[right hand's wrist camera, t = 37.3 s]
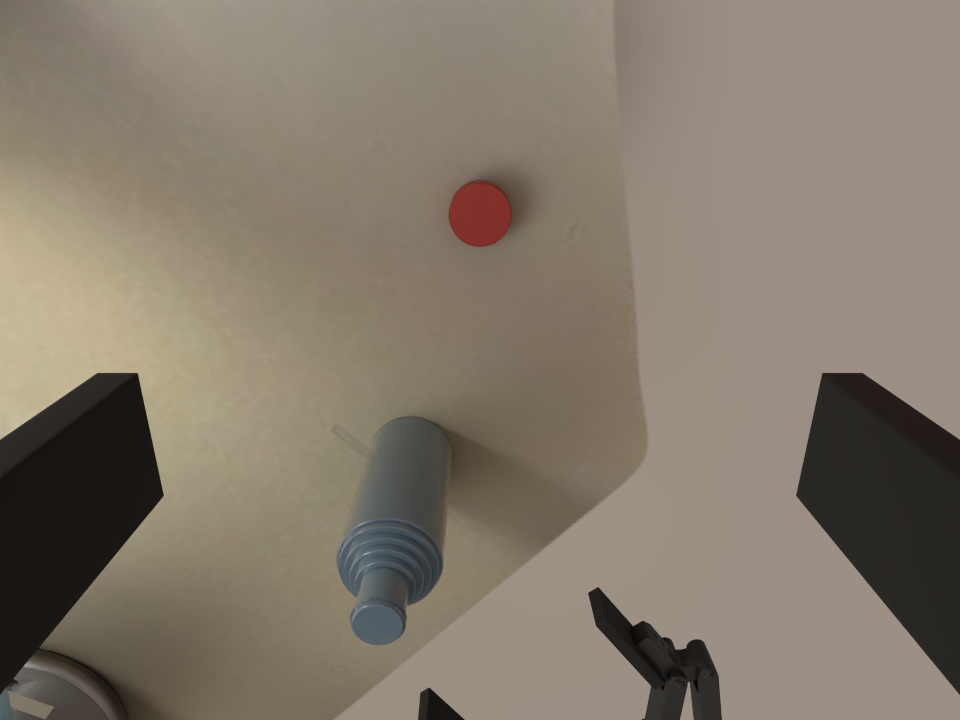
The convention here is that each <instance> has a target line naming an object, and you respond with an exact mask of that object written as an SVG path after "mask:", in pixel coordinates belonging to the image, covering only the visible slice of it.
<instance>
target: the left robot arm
mask: <svg viewBox="0 0 960 720" xmlns="http://www.w3.org/2000/svg"><path fill="white" fill-rule="evenodd" d="M588 594H589V598H590V602H591V607H592V610H593V615H594V619H595V623H596V626H597V627H598V628H599V629H600V631H601V632H602V633H603V634H604V635H605V636H606V637H607V638H608V639H609V640H610V641H611V643H612V644H613V645H614V646H615V647H616V648H617V649H618V650H619V651H620V652H621V653H622V655H623V656H624V657H625V658H626V659H627V660H628V661H629V662H630V663H631V664H632V665H633V667H634V668H635V669H636V670H637V671H638V672H639V673H640V674H641V675H642V676H643V677H644V679H645V680H646V681H647V682H648V683H649V684H650V685H651V690H650V695H649V700H648V706H647V711H646V716H645V719H642V720H680V716H681V712H682V707H683V703H684V698H685V694H686V689H687V685H688V683H687V682H690V688H691V698H692V707H693V717H694V720H722V716H721V703H720V690H719V677H718V673H717V671H716V669H715V666H714V664H713V662H712V659H711V657H710V655H709V652H708V650H707V648H706V646H705V643H704V642H703V641H702V640H692V641H690V642H689V643H688V644H687V648H686V649H682V650H675V647H674V645H673V642H672V640H671V639H669V638H666V637H664V638H662V637H661V636H660V635H659V634H658V633H657V632H656V631H655V630H654V628H653V627H652V626H651V625H650V624H649V623H646V622H644V621H642V622H640V623H638V624H636V625H635V626H632V625H631V624H630V622H629V621H628V620H627V619H626V618H625V617H624V616H623V614H622V613H621V612H620V611H619V610H618V609H617V608H616V607H615V605H614V604H613V603H612V602H611V601H610V600H609V599H608V598H607V596H606V595H605V594H604V593H603V592H602V591H601V590H600V589H599V587H598V588H596V589H594V590H592V591H591V592H589V593H588ZM0 720H127V719H126V714H125V711H124V708H123V706H122V704H121V702H120V700H119V699H118V697H117V696H116V694H115V693H114V691H113V690H112V689H111V688H110V687H109V686H108V685H107V684H106V683H105V682H104V681H103V680H102V679H101V678H100V677H98V676H97V675H96V674H95V673H93V672H92V671H90V670H89V669H87V668H86V667H84V666H82V665H80V664H78V663H76V662H74V661H72V660H70V659H68V658H65V657H62V656H60V655H57V654H53V653H50V652H46V651H41V650H37V651H36V652H35V653H34V654H33V656H32V657H31V658H30V659H29V660H28V662H27V663H26V664H25V665H24V666H23V668H22V669H21V670H20V671H19V673H18V674H17V675H16V676H15V677H14V679H13V680H12V681H11V682H10V684H9V685H8V686H7V687H6V688H5V690H4V691H3V692H2V693H1V694H0ZM418 720H464V719H463V718H462V717H461V716H460V715H459V714H458V713H457V712H455V711H454V710H453V709H452V708H451V707H450V706H449V705H448V704H447V703H446V702H444V701H443V700H442V699H441V698H440V697H439V696H438V695H437V694H436V693H435V692H434V691H432V690H431V689H430V688H428V689H426V690H424V691H423V692H421V694H420V705H419V716H418Z"/></svg>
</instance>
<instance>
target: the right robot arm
mask: <svg viewBox="0 0 960 720" xmlns="http://www.w3.org/2000/svg"><path fill="white" fill-rule="evenodd" d="M163 496H164V495H163V490H162V485H161V481H160V476H159V471H158V466H157V462H156V457H155V452H154V448H153V443H152V438H151V434H150V429H149V424H148V420H147V415H146V410H145V406H144V401H143V396H142V392H141V387H140V382H139V377H138V373H97V374H96V375H94V376H93V377H91V378H90V379H88V380H87V381H85V382H84V383H82V384H81V385H80V386H78V387H77V388H75V389H74V390H72V391H71V392H69V393H68V394H66V395H65V396H63V397H62V398H61V399H59V400H58V401H56V402H55V403H53V404H52V405H50V406H49V407H47V408H46V409H45V410H43V411H42V412H40V413H39V414H37V415H36V416H34V417H33V418H31V419H30V420H28V421H27V422H26V423H24V424H23V425H21V426H20V427H18V428H17V429H15V430H14V431H12V432H11V433H10V434H8V435H7V436H5V437H4V438H2V439H1V440H0V694H1V693H2V692H3V691H4V690H5V688H6V687H7V686H8V685H9V684H10V682H11V681H12V680H13V679H14V677H15V676H16V675H17V674H18V673H19V671H20V670H21V669H22V668H23V666H24V665H25V664H26V663H27V662H28V660H29V659H30V658H31V657H32V656H33V654H34V653H35V652H36V651H37V649H38V648H39V647H40V646H41V645H42V643H43V642H44V641H45V640H46V638H47V637H48V636H49V635H50V634H51V632H52V631H53V630H54V629H55V628H56V626H57V625H58V624H59V623H60V621H61V620H62V619H63V618H64V617H65V615H66V614H67V613H68V612H69V610H70V609H71V608H72V607H73V606H74V604H75V603H76V602H77V601H78V600H79V598H80V597H81V596H82V595H83V593H84V592H85V591H86V590H87V589H88V587H89V586H90V585H91V584H92V583H93V581H94V580H95V579H96V578H97V576H98V575H99V574H100V573H101V572H102V570H103V569H104V568H105V567H106V565H107V564H108V563H109V562H110V561H111V559H112V558H113V557H114V556H115V555H116V553H117V552H118V551H119V550H120V548H121V547H122V546H123V545H124V544H125V542H126V541H127V540H128V539H129V537H130V536H131V535H132V534H133V533H134V531H135V530H136V529H137V528H138V527H139V525H140V524H141V523H142V522H143V520H144V519H145V518H146V517H147V516H148V514H149V513H150V512H151V511H152V509H153V508H154V507H155V506H156V505H157V503H158V502H159V501H160V500H161V499H162V497H163ZM796 496H797V497H798V498H799V500H800V501H801V502H802V503H803V505H804V506H805V507H806V508H807V509H808V511H809V512H810V513H811V514H812V516H813V517H814V518H815V519H816V520H817V522H818V523H819V524H820V525H821V527H822V528H823V529H824V530H825V531H826V533H827V534H828V535H829V536H830V537H831V539H832V540H833V541H834V542H835V543H836V545H837V546H838V547H839V548H840V550H841V551H842V552H843V553H844V555H845V556H846V557H847V558H848V559H849V561H850V562H851V563H852V564H853V565H854V567H855V568H856V569H857V570H858V571H859V573H860V574H861V575H862V576H863V578H864V579H865V580H866V581H867V582H868V584H869V585H870V586H871V587H872V589H873V590H874V591H875V592H876V593H877V595H878V596H879V597H880V598H881V600H882V601H883V602H884V603H885V604H886V606H887V607H888V608H889V609H890V610H891V612H892V613H893V614H894V615H895V617H896V618H897V619H898V620H899V621H900V623H901V624H902V625H903V626H904V628H905V629H906V630H907V631H908V632H909V634H910V635H911V636H912V637H913V638H914V640H915V641H916V642H917V643H918V645H919V646H920V647H921V648H922V649H923V651H924V652H925V653H926V654H927V656H928V657H929V658H930V659H931V660H932V662H933V663H934V664H935V665H936V666H937V668H938V669H939V670H940V671H941V673H942V674H943V675H944V676H945V677H946V679H947V680H948V681H949V682H950V684H951V685H952V686H953V687H954V688H955V690H956V691H957V692H958V693H959V694H960V440H959V439H958V438H956V437H955V436H953V435H952V434H950V433H949V432H948V431H946V430H945V429H943V428H942V427H940V426H939V425H937V424H936V423H934V422H933V421H932V420H930V419H929V418H927V417H926V416H924V415H923V414H921V413H920V412H918V411H917V410H915V409H914V408H912V407H911V406H910V405H908V404H907V403H905V402H904V401H902V400H901V399H899V398H898V397H896V396H895V395H894V394H892V393H891V392H889V391H888V390H886V389H885V388H883V387H882V386H880V385H879V384H878V383H876V382H875V381H873V380H872V379H870V378H869V377H867V376H866V375H864V374H863V373H822V378H821V382H820V387H819V392H818V396H817V401H816V406H815V410H814V415H813V420H812V424H811V429H810V434H809V438H808V443H807V448H806V452H805V457H804V462H803V467H802V471H801V476H800V481H799V485H798V490H797V495H796Z"/></svg>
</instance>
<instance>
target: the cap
mask: <svg viewBox="0 0 960 720" xmlns="http://www.w3.org/2000/svg"><path fill="white" fill-rule="evenodd" d="M449 221H450V225H451V228H452V230H453V232H454V233H455V235H456V236H457V237H458V238H459V239H460V240H462V241H463V242H465V243H467V244H469V245H472V246H477V247H483V246H488V245H491V244H493V243H495V242H497V241H498V240H500V239H501V238H502V237H503V236H504V234H505V233H506V232H507V230H508V228H509V225H510V221H511V209H510V205H509V202H508V199H507V197H506V195H505V194H504V192H503V191H502V190H501V189H500V188H499V187H498V186H496V185H494V184H493V183H490V182H487V181H473V182H470V183H467V184H465V185H464V186H462V187H461V188H460V189H459V190H458V191H457V192H456V194H455V195H454V197H453V199H452V202H451V205H450V209H449Z"/></svg>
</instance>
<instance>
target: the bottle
mask: <svg viewBox="0 0 960 720" xmlns="http://www.w3.org/2000/svg"><path fill="white" fill-rule="evenodd" d="M451 462H452V448H451V444H450V442H449V439H448V437H447V436H446V434H445V433H444V432H443V431H442V430H441V429H440V428H439V427H438V426H437V425H435V424H434V423H432V422H430V421H428V420H425V419H422V418H417V417H403V418H399V419H395V420H393V421H391V422H389V423H387V424H386V425H384V426H383V427H382V428H381V429H380V430H379V431H378V432H377V434H376V435H375V437H374V439H373V442H372V445H371V448H370V452H369V455H368V458H367V461H366V464H365V467H364V470H363V473H362V476H361V479H360V482H359V485H358V489H357V492H356V495H355V498H354V501H353V504H352V507H351V510H350V513H349V516H348V519H347V522H346V525H345V529H344V532H343V535H342V538H341V541H340V544H339V547H338V551H337V566H338V570H339V574H340V577H341V580H342V581H343V583H344V585H345V586H346V588H347V589H348V590H349V591H350V592H351V593H352V594H353V595H354V596H355V597H357V600H356V604H355V607H354V608H353V610H352V613H351V620H350V622H351V626H352V629H353V632H354V633H355V635H356V636H357V637H358V638H359V639H361V640H362V641H364V642H366V643H369V644H372V645H385V644H389V643H391V642H393V641H395V640H396V639H398V638H399V637H400V636H401V635H402V634H403V632H404V630H405V626H406V619H407V616H406V608H407V606H408V605H411V604H414V603H416V602H418V601H420V600H421V599H423V598H424V597H426V596H427V595H428V594H429V593H430V592H431V590H432V589H433V588H434V586H435V585H436V584H437V582H438V580H439V578H440V576H441V573H442V569H443V561H444V548H445V536H446V524H447V511H448V499H449V487H450V474H451Z"/></svg>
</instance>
